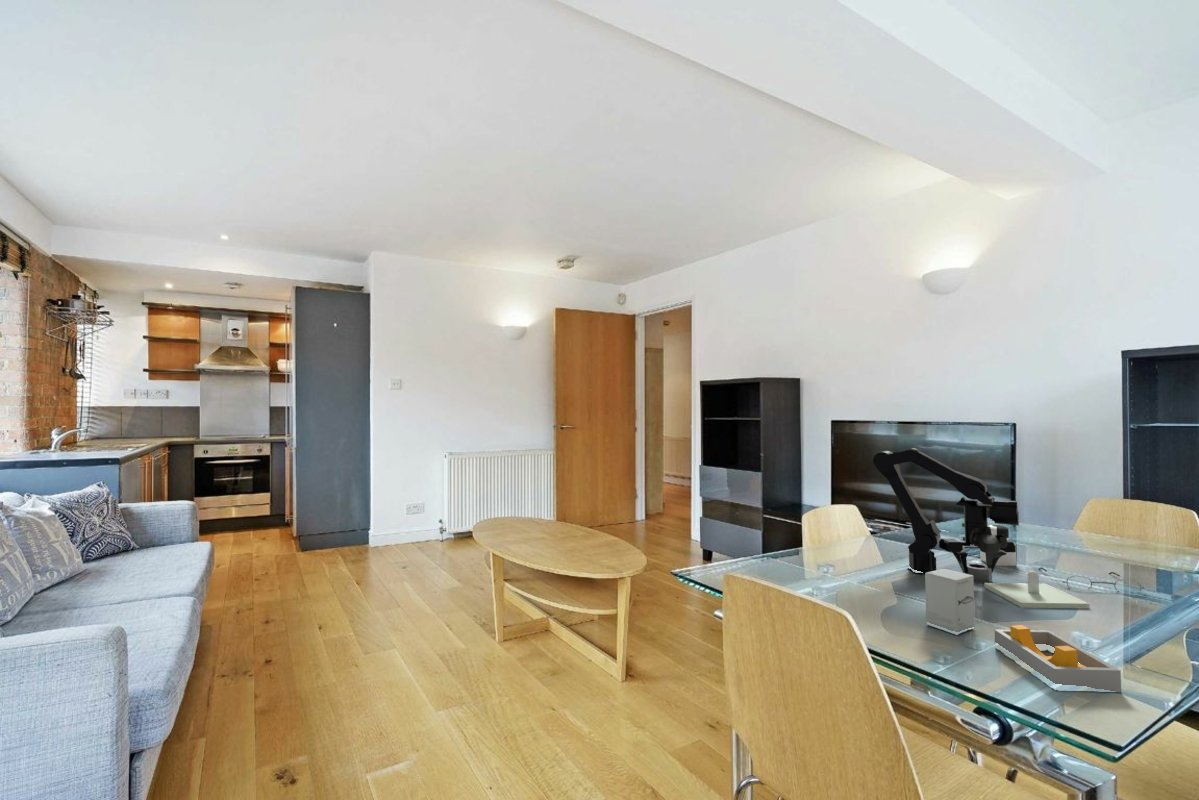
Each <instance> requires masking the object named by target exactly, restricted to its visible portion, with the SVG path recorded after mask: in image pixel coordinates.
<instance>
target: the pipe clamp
mask: <svg viewBox="0 0 1199 800" xmlns="http://www.w3.org/2000/svg"><path fill="white" fill-rule="evenodd" d="M1009 627H1010V629H1009V630H1010V633H1011V637H1012V638H1013V639H1015V640H1016V641H1018V642H1019V643H1021V644H1023V645H1024V646H1026V647H1027V648H1029V649H1030V650H1032V651H1033V652H1035V653H1036V654H1038V655H1039V656H1041V657H1043V658H1044V659H1046V660H1047V661H1049V662H1050V663H1052V664H1053V665H1055V666H1056V667H1086V666H1084V665H1082V664H1079V663H1078V659H1077V650H1076V649H1074V648H1072V647H1069V646H1055V651H1054V654H1052V655H1050V656H1049V655H1045V654H1044V653H1043V651H1040V650H1039V649H1038V648H1037V647H1036V645H1035V644H1034V642H1033V640H1032V637H1031V633H1030V630H1031V628H1029V627H1027V626H1025V625H1023V624H1017V625H1010V626H1009Z"/></svg>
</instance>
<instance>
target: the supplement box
mask: <svg viewBox="0 0 1199 800" xmlns="http://www.w3.org/2000/svg"><path fill="white" fill-rule="evenodd" d="M924 577H925V578H924V581H925V582H924V583H925V587H924V588H925V619H926V620H925V622H926V621H927V622H929V623H931V624H934V625H937V626H940V627H943V628H946V629H948V630H951V631H955V632H960V631H962V630H965V629H968V628H972V627H975V628H976V626H975V625H976V624H975V619H976V617H975V616H976V615H975V587H974V586H975V585H974V583H975V582H974V581H973V575H969V574H965V573H963V572H960V571H957V570H951V569H948V568H947V569H946V568H939V569H936V570H935V571H931V572H927V573H925V574H924Z"/></svg>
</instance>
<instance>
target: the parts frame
mask: <svg viewBox="0 0 1199 800" xmlns="http://www.w3.org/2000/svg"><path fill="white" fill-rule="evenodd" d="M1030 633H1031V637H1032V640H1033V642H1034V644H1046V645H1050V646H1052V647H1054V648H1055V646H1069V647H1072V648H1074V649H1076V650H1077V659H1078V662H1079V663H1080V664H1082V665H1084V666H1086V667H1056V666H1055V665H1053V664H1052V663H1050V662H1049V661H1047V660H1046V659H1044V658H1043V657H1041V656H1039V655H1038V654H1036V653H1035V652H1033V651H1032V650H1030V649H1029V648H1027V647H1026V646H1024V645H1023V644H1021V643H1019V642H1018V641H1016V640H1015V639H1013V638H1012V637H1011V633H1010V629H996V628H994V643H995V642H996V643H998V644H999V645H1000V646H1002V647H1003V648H1005V649H1006V650H1008V651H1009V652H1011V653H1013V654H1014V655H1015V656H1017V657H1018V658H1019V659H1020V660H1022V661H1023V662H1025V663H1026V664H1027V665H1029V666H1030V667H1031V668H1033V669H1034V670H1035V671H1037V672H1039V673H1040V674H1042V675H1043V676H1045V677H1046V678H1047V679H1049V680H1050V681H1052V682H1053V683H1055V684H1062V685H1076V686H1087V687H1091V688H1095V689H1104V690H1110V691H1116V692H1121V693H1122V677H1121V676H1122V674H1121V673H1122V672H1121V670H1120V669H1119V668H1117V667H1116V666H1113V665H1112V664H1110V663H1108V662H1106V661H1105V660H1103V659H1101V658H1100V657H1099V656H1096V655H1094V654H1092V653H1090V652H1089V651H1087V650H1085V649H1083V648H1082V647H1080V646H1078V645H1077V644H1075V643H1074V642H1071V641H1069V640H1068V639H1067V638H1064V637H1063V636H1060V635H1059V634H1056V632H1053V631H1052V630H1049V629H1047V630H1046V629H1030Z"/></svg>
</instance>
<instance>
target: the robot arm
mask: <svg viewBox="0 0 1199 800" xmlns="http://www.w3.org/2000/svg"><path fill="white" fill-rule="evenodd" d="M910 462H911V463H914V464H915V465H918V466H919V467H920V468H922V469H924V470H926V471H928V472H930V473H932V474H933V475H935V476H937V477H939V478H940V479H942V480H944V481H946V482H947V483H949V484H950V485H952V487H954V488H955V489H956V491H958V493H960V494H962V495H963V496H962V497H961V498H960V499H959V500H958V501H957V502H955V505H956V506H957V507H958V506H959V507H960V506H962V507H963V522H962V523H961V527H964V536H962V537H961V538H962V541H959V540H957V539H955V538H941V533H942V531H941V529H939V528H938V526H937V524H936V521H935V520H934V519H932V520H929V519H928V518H926V516H925V515H924V514H923V511H922V509H921V508H920V506H919V504H918V502H917V501H916V499H915V497H914V496H913V494H912V492H911V490H910V489H909V486H908V485H907V483H906V481H905V479H904V478H903V476H902V473H901V468H900V464H904V463H910ZM872 465H873V466H874V467H875V469H876V470H877V471H878V472H879V473H880V475H882V477H883V478H884V479H885V480H887V482H888V483H889V485H890V486H891V488H892V491H893V492H894V495H895V496H896V498H897V500H898V502H899V503H900V505H901V507H902V509H903V510H904V513H905V514H906V515H907V518H908V519H909V522H910V524H911V529H912V534H913V536H914V540H913V541H912V542H911V543H910V544H909V545H908V547H907V548H908V566H910V567H911V568H912V569H914V570H917V571H921V572H923V573H927V572H931V571H935V570H937V557H936V556H935V552H934V551H932V550H933V549H934V548H936V547H937V545H938V548H940V549H941V550H944V551H946V552H948V553H952V554H953V556H954V558H955V559H956V560H957V563H958V565H959V567H960V569H961V571H962V573H965V574H967V563H968V562H967V561H968V560H967V559H968V558H967V557H968V555H969V553H968V552H966V549H978V550H979V551H980V550H981V551H982V552H984V553H985V555H986V562H985V563H986V564H985V565H987V566H990V567H992V573H993V572H994V569H995V567H996V566H995V565H996V563H997V561H998V559H999V558H1000V557H1001V556H1003V555H1006V554H1007V553H1005V552H1016V553H1017V545H1016V546H1015V544H1016V543H1015V544H1014V541H1011V540H1010V539H1009V540H1007V537H1006V536H1005V535H992V533H991V529H990V527H989V525H988V510H989V520H991V521H992V522H993V521H994V524H996V525H1009V526H1010V525H1011V526H1020V512H1019V508H1018V501H1017V500H997V499H996V498H994V496H993V495H992V494H991V493H990V492H989V491H988V486H987V484H986V482H985V481H984V480H983V479H981V478H978V477H976V476H972V475H970V474H967V473H963V472H960V471H958V470H955V469H953V468H952V467H950V466H948V465H947V464H945V463H943V462H941V461H939V460H937V459H935V458H934V457H932V456H929V455H928V454H926V453H924V452H922V451H921V450H920V449H918V448H914V447H913V448H909V449H907V450H906V449H905V450H900V451H894V452H892V451H890V450H883V451H880V452H877V453H876V454H874V455H873V458H872ZM965 497H966V498H967V499H966V498H965ZM979 502H980V503H979Z"/></svg>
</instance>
